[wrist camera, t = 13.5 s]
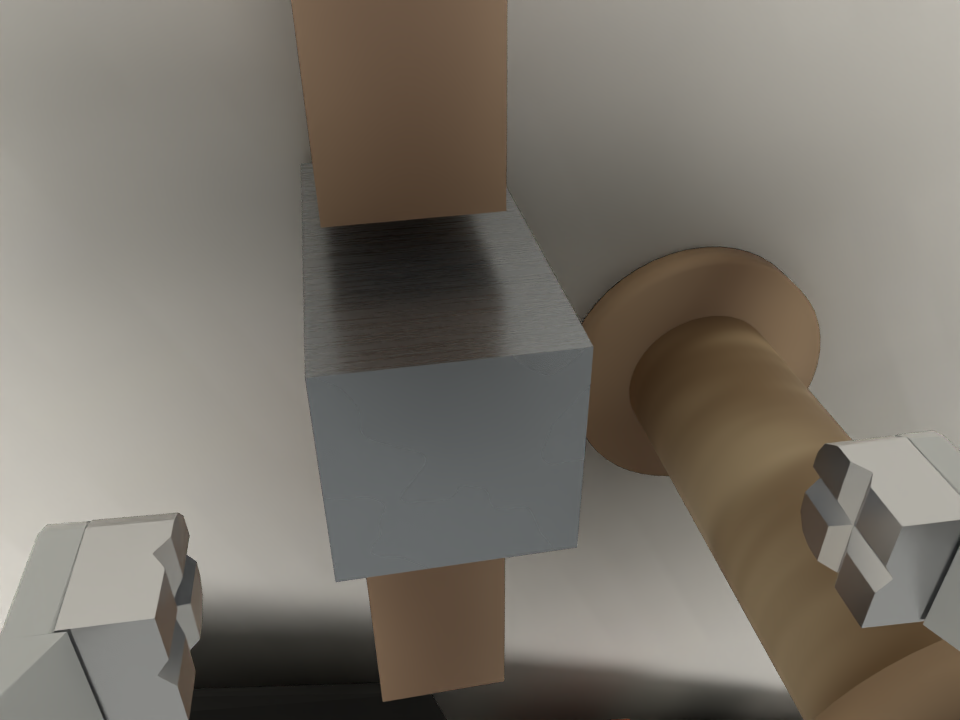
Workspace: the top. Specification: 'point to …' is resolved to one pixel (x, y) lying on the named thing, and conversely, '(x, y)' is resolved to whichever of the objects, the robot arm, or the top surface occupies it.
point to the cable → (310, 704)
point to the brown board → (405, 196)
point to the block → (441, 390)
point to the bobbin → (751, 469)
